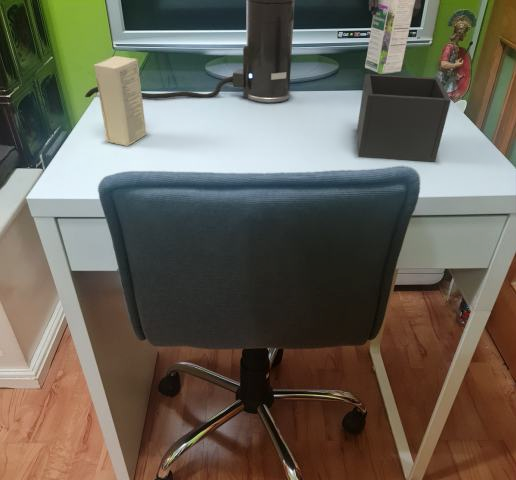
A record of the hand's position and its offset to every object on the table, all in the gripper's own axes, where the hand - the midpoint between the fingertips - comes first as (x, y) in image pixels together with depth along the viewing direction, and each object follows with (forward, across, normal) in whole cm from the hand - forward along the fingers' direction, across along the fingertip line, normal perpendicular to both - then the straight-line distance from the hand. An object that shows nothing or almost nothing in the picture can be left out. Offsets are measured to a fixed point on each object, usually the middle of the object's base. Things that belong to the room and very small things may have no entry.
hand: (394, 12), depth 100 cm
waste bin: (+31, -3, -10) cm, 33 cm away
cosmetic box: (+32, -49, -9) cm, 59 cm away
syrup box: (+7, 0, +9) cm, 11 cm away
